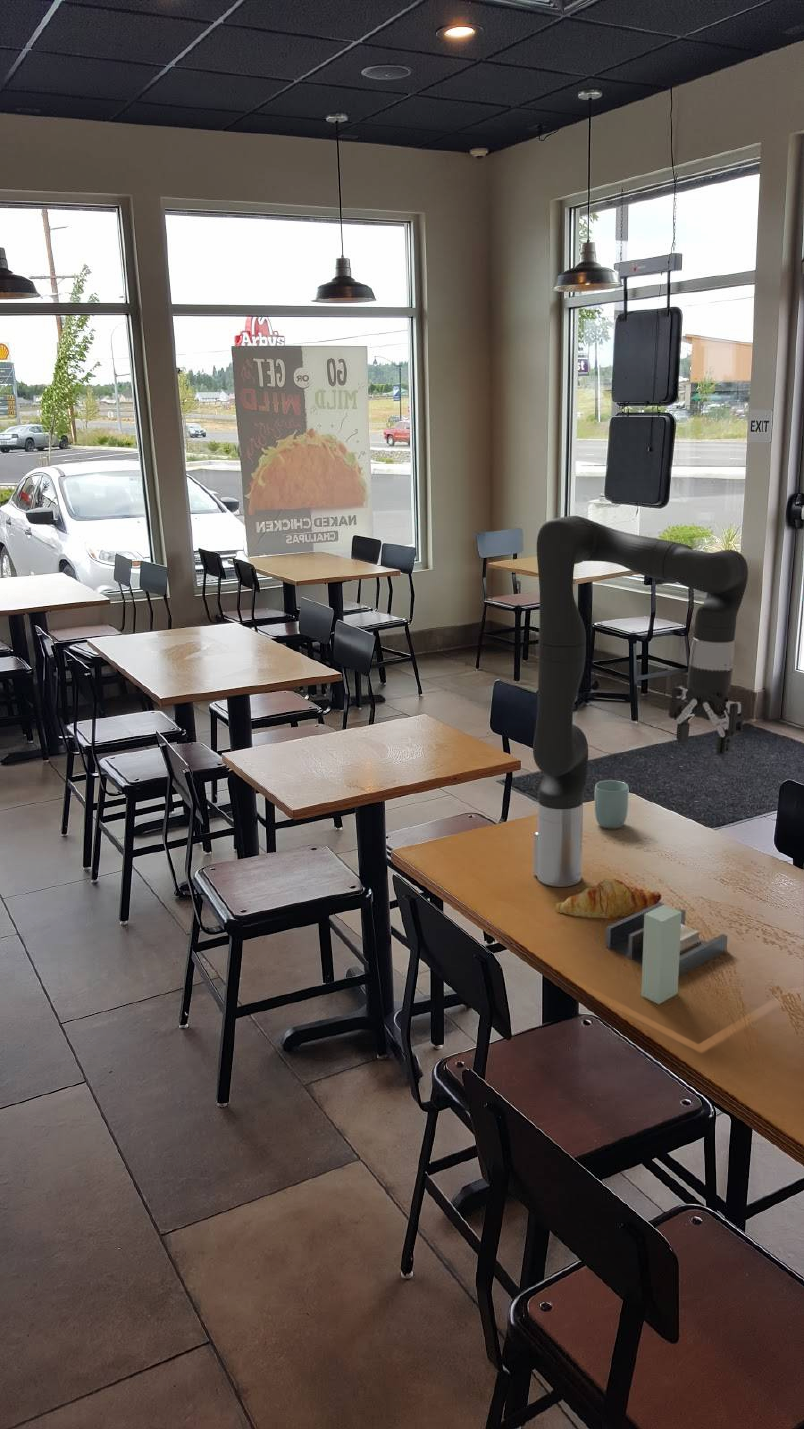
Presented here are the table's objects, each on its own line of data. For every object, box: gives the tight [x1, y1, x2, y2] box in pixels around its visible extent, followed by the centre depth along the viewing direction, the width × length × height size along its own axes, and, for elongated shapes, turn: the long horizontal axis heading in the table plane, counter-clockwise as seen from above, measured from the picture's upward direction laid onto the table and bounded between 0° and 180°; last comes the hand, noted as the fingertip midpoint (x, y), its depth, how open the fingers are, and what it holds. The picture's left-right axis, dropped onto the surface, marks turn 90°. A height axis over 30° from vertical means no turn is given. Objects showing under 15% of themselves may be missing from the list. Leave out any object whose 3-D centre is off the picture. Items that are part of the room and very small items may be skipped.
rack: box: [605, 901, 728, 978], centre depth 195 cm, size 15×15×6 cm
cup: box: [594, 779, 630, 830], centre depth 253 cm, size 8×8×10 cm
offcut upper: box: [680, 924, 700, 951], centre depth 193 cm, size 5×7×2 cm, turn 128°
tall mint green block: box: [640, 904, 682, 1005], centre depth 179 cm, size 4×5×16 cm
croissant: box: [555, 878, 662, 920], centre depth 211 cm, size 21×10×8 cm, turn 99°
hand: (701, 749), depth 197 cm, fingers open, 8 cm apart
